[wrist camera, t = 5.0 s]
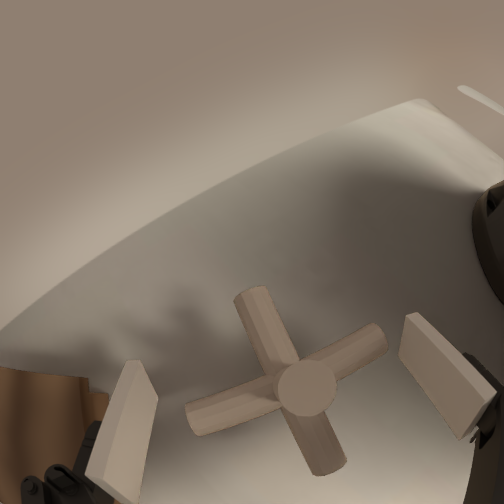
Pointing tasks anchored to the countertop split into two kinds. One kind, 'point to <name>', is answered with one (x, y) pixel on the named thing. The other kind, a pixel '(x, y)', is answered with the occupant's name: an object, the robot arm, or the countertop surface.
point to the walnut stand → (42, 425)
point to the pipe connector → (289, 382)
